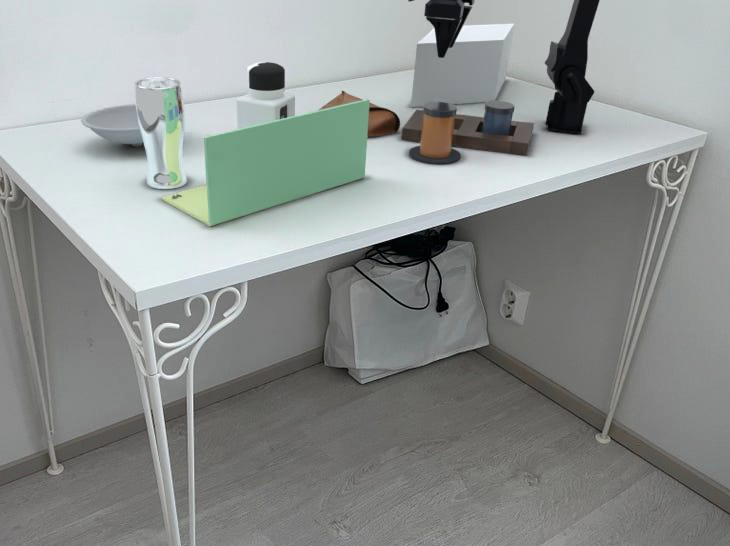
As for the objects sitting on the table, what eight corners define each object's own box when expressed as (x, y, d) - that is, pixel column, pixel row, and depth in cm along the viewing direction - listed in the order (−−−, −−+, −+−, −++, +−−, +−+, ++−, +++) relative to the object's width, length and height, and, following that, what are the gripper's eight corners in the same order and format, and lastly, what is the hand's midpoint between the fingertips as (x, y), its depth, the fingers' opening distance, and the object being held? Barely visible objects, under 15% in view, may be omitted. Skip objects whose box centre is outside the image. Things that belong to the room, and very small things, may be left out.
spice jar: (509, 138, 139) (516, 102, 136) (507, 146, 135) (513, 110, 132) (482, 134, 141) (487, 99, 137) (478, 142, 136) (483, 106, 133)
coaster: (464, 150, 133) (464, 148, 132) (456, 167, 125) (456, 164, 125) (414, 144, 135) (414, 142, 134) (403, 160, 128) (404, 158, 127)
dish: (100, 165, 121) (96, 135, 118) (74, 140, 131) (69, 111, 128) (200, 149, 129) (198, 120, 126) (168, 126, 139) (166, 99, 136)
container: (295, 137, 136) (296, 62, 129) (275, 149, 130) (275, 72, 123) (258, 131, 138) (256, 57, 131) (237, 142, 133) (234, 66, 125)
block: (379, 98, 160) (383, 36, 153) (474, 73, 180) (482, 17, 173) (444, 116, 150) (452, 51, 143) (537, 87, 170) (548, 29, 163)
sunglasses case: (309, 112, 148) (324, 79, 146) (332, 125, 153) (347, 94, 151) (365, 137, 136) (382, 102, 134) (389, 150, 141) (406, 117, 139)
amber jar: (453, 150, 131) (459, 104, 127) (448, 160, 127) (454, 112, 122) (422, 146, 133) (427, 100, 128) (415, 156, 128) (420, 108, 124)
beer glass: (180, 192, 113) (171, 90, 104) (137, 188, 114) (125, 86, 105) (195, 176, 118) (189, 78, 110) (154, 172, 119) (144, 75, 111)
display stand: (211, 226, 103) (205, 138, 96) (162, 199, 110) (154, 115, 103) (364, 178, 120) (369, 99, 113) (313, 157, 127) (315, 82, 120)
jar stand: (532, 134, 141) (534, 122, 140) (526, 155, 131) (529, 143, 130) (415, 120, 147) (416, 109, 145) (401, 139, 137) (402, 128, 135)
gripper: (421, -51, 139) (413, 39, 148) (399, -40, 125) (391, 58, 133) (481, -47, 137) (469, 44, 146) (466, -36, 122) (453, 64, 131)
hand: (445, 52), depth 139 cm, fingers open, 9 cm apart
